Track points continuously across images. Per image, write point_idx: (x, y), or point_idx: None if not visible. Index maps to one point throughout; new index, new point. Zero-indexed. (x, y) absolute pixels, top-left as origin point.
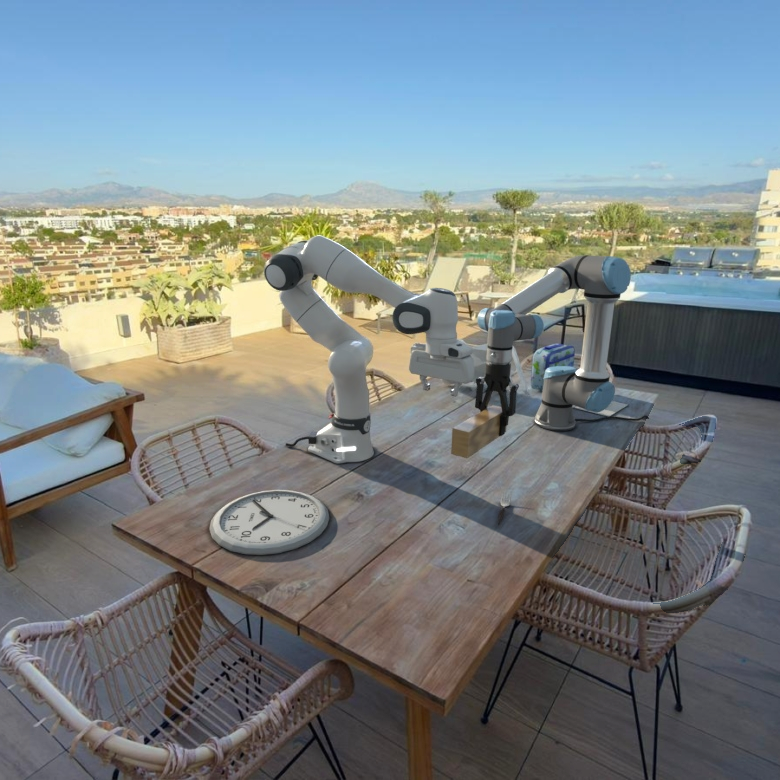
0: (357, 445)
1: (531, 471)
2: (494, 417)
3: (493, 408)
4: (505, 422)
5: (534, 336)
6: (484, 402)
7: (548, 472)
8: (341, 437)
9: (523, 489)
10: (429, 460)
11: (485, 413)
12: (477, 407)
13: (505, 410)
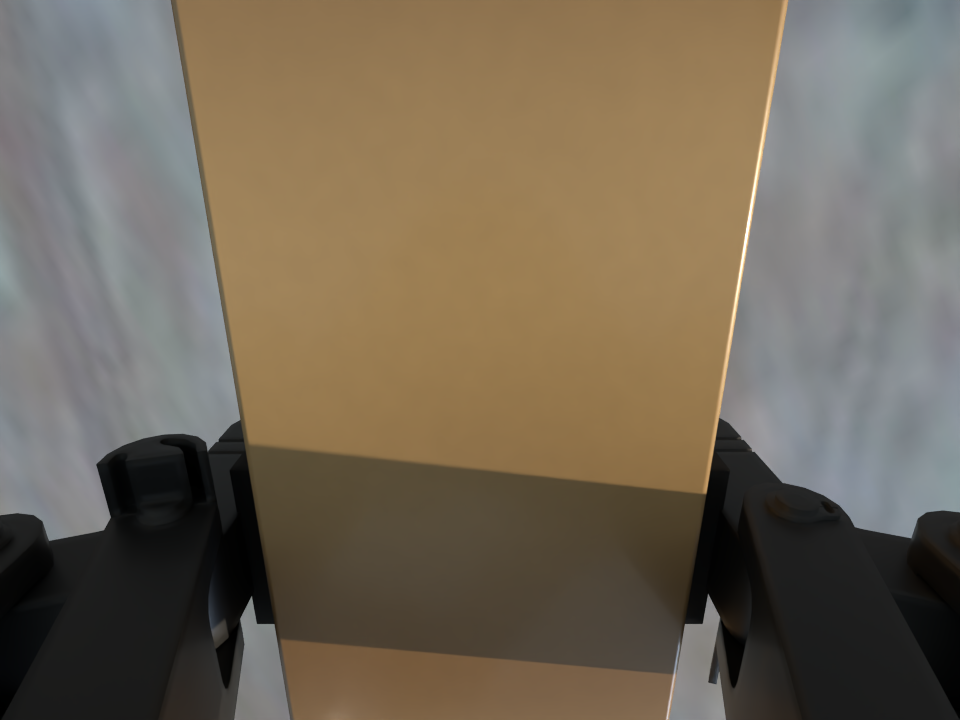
0: None
1: (202, 352)
2: (198, 129)
3: (555, 676)
4: (232, 445)
5: None
6: (858, 694)
7: (117, 406)
8: None
9: (66, 28)
10: (938, 11)
11: (569, 237)
12: (937, 529)
13: (72, 604)
